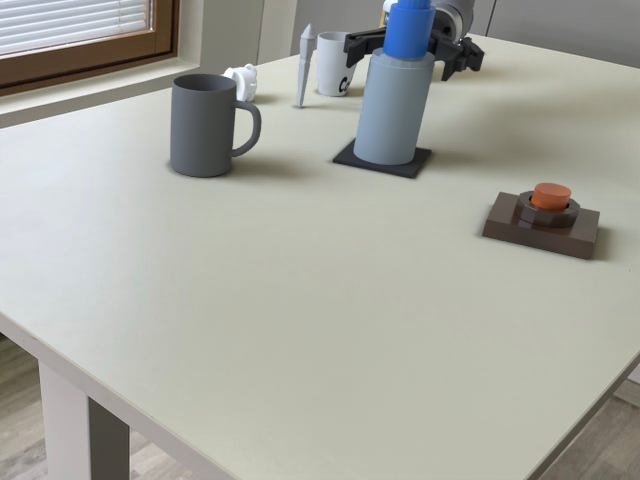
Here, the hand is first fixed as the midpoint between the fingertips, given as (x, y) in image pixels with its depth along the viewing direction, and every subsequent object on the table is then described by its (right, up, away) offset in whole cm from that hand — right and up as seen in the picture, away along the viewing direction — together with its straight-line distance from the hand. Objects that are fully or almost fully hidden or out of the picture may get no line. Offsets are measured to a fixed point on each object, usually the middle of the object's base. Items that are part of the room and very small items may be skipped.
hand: (396, 63), depth 100 cm
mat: (+1, -10, +11) cm, 15 cm away
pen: (-7, +5, +31) cm, 32 cm away
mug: (-25, -13, +6) cm, 29 cm away
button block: (+15, -25, -9) cm, 30 cm away
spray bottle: (+1, -10, +11) cm, 15 cm away
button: (+15, -22, -11) cm, 29 cm away
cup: (0, +10, +38) cm, 40 cm away
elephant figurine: (-18, +7, +34) cm, 39 cm away
